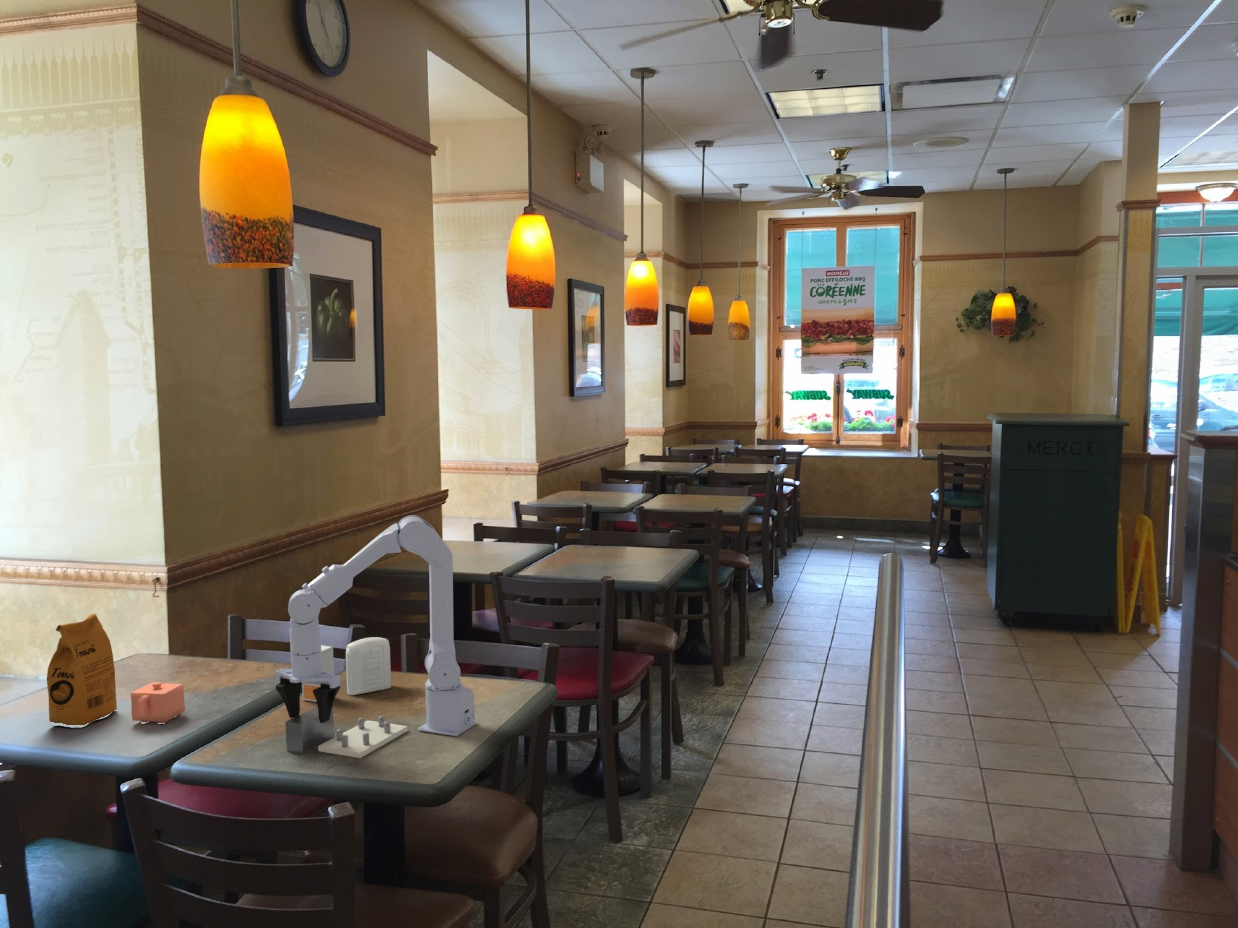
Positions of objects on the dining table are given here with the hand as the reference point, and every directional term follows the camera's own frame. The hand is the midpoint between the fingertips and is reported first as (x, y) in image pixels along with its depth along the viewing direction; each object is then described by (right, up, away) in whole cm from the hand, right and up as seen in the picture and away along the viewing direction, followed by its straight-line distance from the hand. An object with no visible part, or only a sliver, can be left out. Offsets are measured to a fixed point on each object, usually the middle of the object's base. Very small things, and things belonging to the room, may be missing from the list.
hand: (309, 718), depth 189 cm
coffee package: (-54, -5, +18) cm, 57 cm away
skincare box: (-7, -3, +27) cm, 28 cm away
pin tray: (+10, -5, +1) cm, 12 cm away
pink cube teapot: (-37, -5, +17) cm, 41 cm away
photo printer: (+3, -2, +33) cm, 33 cm away
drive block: (0, -5, 0) cm, 5 cm away
